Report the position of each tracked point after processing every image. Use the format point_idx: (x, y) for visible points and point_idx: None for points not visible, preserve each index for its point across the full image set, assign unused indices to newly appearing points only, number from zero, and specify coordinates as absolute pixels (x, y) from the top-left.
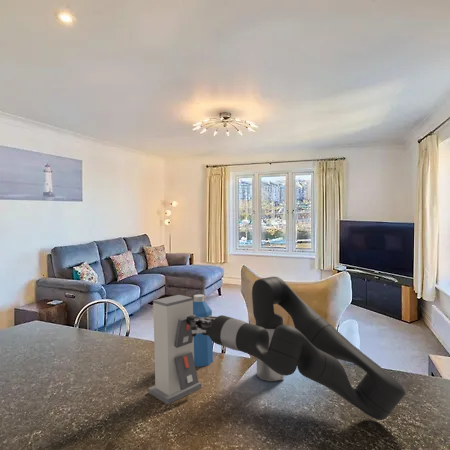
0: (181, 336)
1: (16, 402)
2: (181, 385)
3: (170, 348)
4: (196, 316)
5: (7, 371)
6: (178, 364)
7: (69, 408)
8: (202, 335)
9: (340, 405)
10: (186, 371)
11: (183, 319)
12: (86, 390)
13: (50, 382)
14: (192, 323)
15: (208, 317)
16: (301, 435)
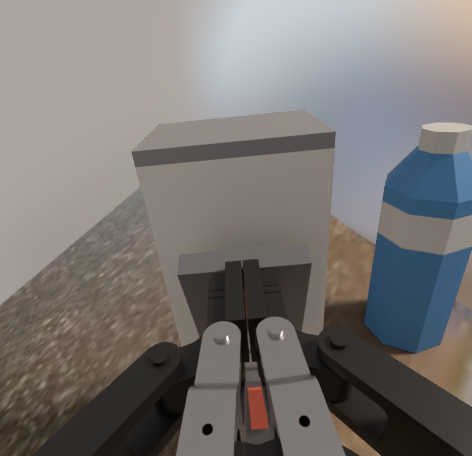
0: None
1: (56, 269)
2: None
3: (193, 341)
4: (309, 265)
5: (118, 208)
6: None
7: (69, 326)
8: (416, 273)
9: None
10: (253, 437)
11: (200, 269)
12: (133, 292)
13: (123, 248)
14: (96, 410)
15: (319, 401)
16: None
